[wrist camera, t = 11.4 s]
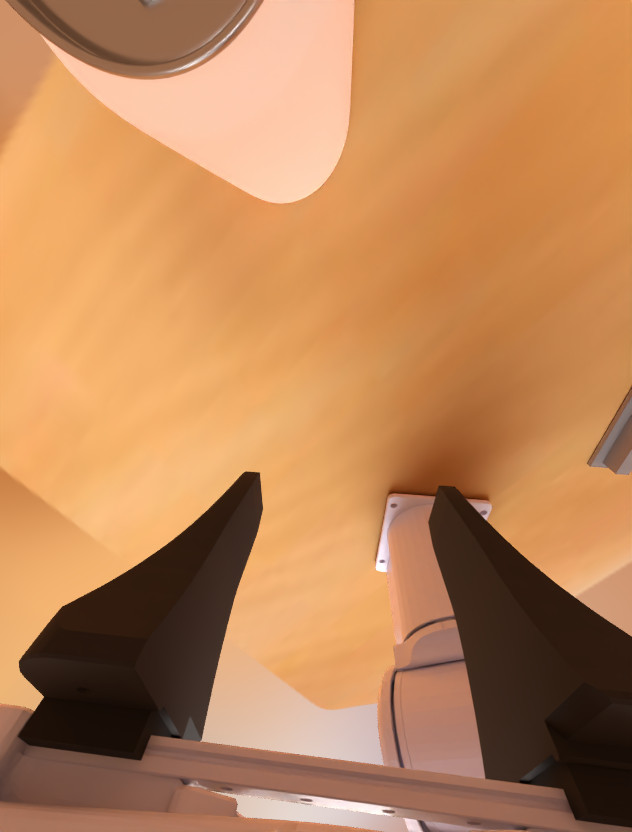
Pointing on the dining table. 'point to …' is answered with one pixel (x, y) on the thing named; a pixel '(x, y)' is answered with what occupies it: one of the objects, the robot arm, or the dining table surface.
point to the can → (218, 79)
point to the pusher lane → (616, 442)
